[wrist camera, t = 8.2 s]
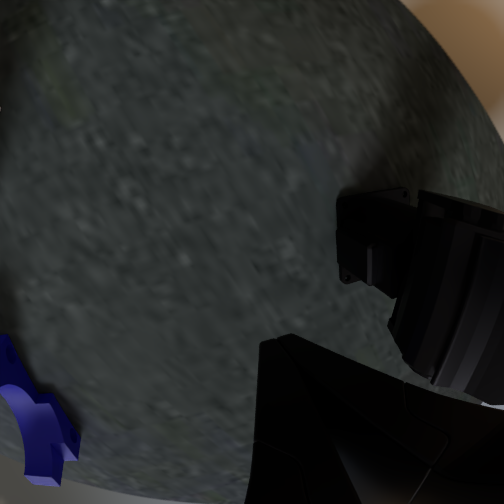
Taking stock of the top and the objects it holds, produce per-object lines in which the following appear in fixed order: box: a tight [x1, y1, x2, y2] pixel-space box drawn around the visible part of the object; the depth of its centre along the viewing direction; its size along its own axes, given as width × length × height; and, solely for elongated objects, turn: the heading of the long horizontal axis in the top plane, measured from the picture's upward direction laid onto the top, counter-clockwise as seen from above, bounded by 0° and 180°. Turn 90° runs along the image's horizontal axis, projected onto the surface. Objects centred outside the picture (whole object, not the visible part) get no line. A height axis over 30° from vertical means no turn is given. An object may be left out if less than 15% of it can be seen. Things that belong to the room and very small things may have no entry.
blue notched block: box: [0, 334, 81, 486], centre depth 17 cm, size 12×4×6 cm, turn 4°
